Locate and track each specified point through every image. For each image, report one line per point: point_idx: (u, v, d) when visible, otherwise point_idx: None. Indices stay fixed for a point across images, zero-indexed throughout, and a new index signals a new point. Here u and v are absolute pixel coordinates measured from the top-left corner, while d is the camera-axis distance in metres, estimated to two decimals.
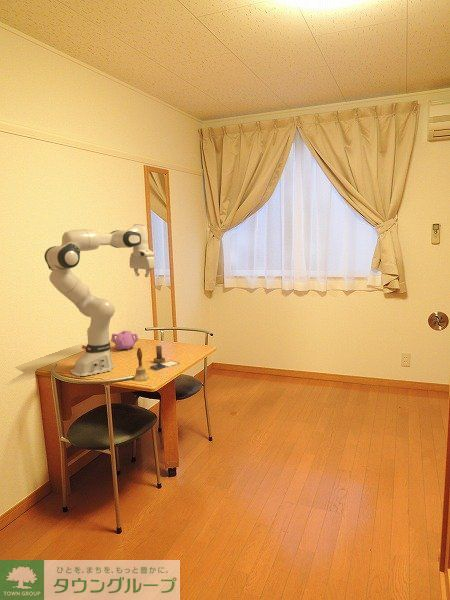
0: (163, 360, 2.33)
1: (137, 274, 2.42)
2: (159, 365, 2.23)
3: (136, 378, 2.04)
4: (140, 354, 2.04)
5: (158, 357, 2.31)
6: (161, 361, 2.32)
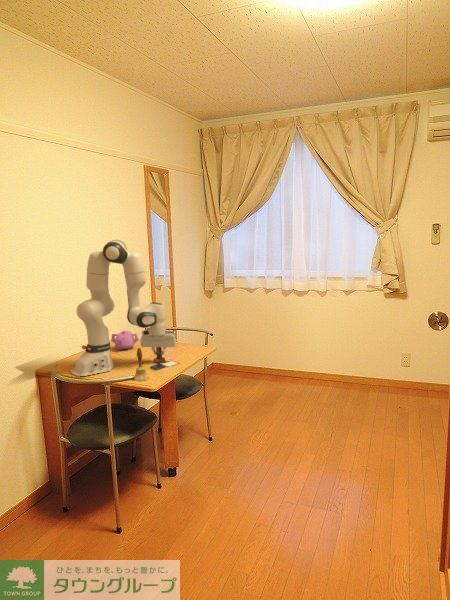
0: (163, 360, 2.33)
1: None
2: (159, 365, 2.23)
3: (136, 378, 2.04)
4: (140, 354, 2.04)
5: (158, 357, 2.31)
6: (161, 361, 2.32)
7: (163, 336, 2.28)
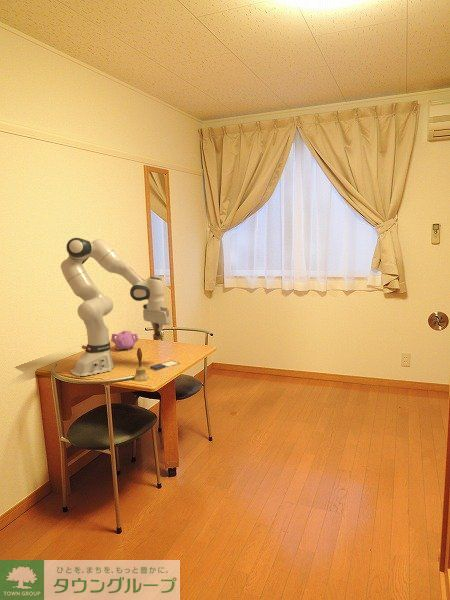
0: (160, 337, 2.27)
1: None
2: (159, 365, 2.23)
3: (136, 378, 2.04)
4: (140, 354, 2.04)
5: (155, 333, 2.27)
6: (157, 338, 2.27)
7: (158, 312, 2.23)
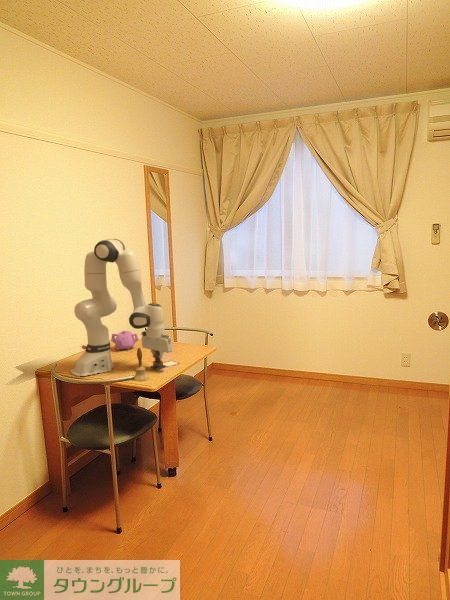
0: (160, 364, 2.21)
1: None
2: None
3: (136, 378, 2.04)
4: (140, 354, 2.04)
5: (155, 360, 2.21)
6: (158, 365, 2.21)
7: (158, 340, 2.17)
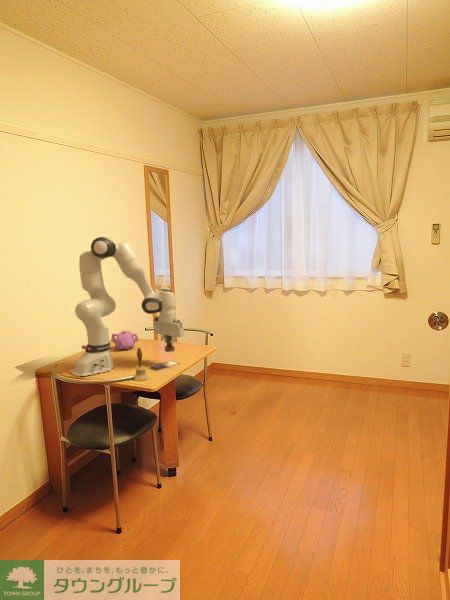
0: (172, 349, 2.26)
1: None
2: (159, 365, 2.23)
3: (136, 378, 2.04)
4: (140, 354, 2.04)
5: (167, 345, 2.26)
6: (169, 349, 2.26)
7: (170, 324, 2.22)
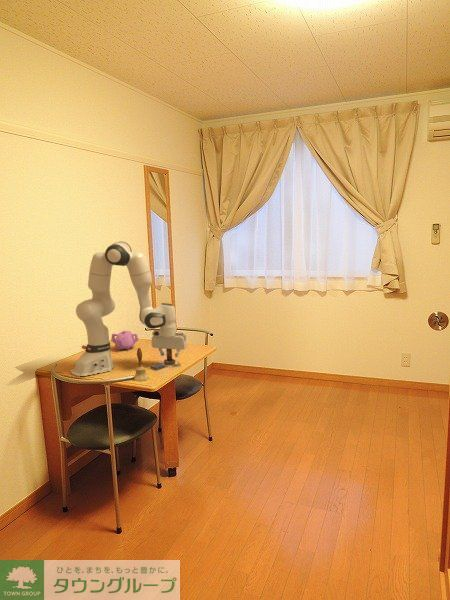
0: (173, 362, 2.28)
1: None
2: (159, 365, 2.23)
3: (136, 378, 2.04)
4: (140, 354, 2.04)
5: (168, 358, 2.27)
6: (171, 363, 2.27)
7: (173, 338, 2.24)
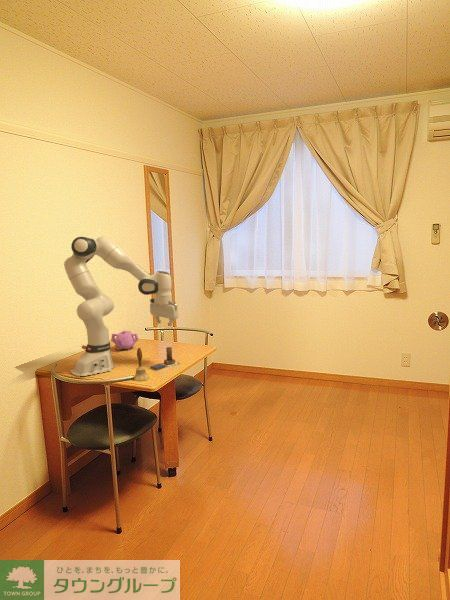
0: (173, 362, 2.28)
1: None
2: (159, 365, 2.23)
3: (136, 378, 2.04)
4: (140, 354, 2.04)
5: (168, 358, 2.27)
6: (171, 363, 2.27)
7: (165, 306, 2.24)
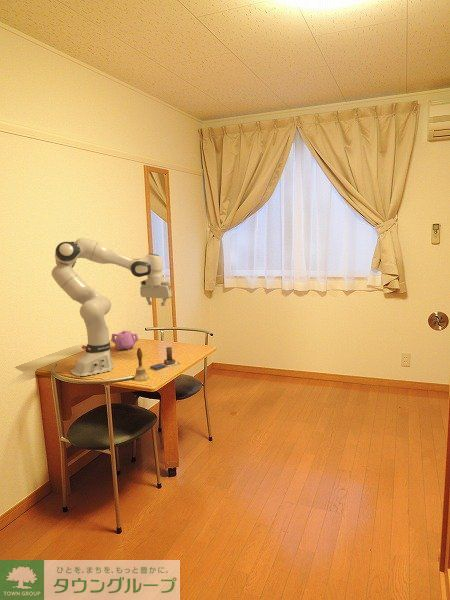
0: (173, 362, 2.28)
1: None
2: (159, 365, 2.23)
3: (136, 378, 2.04)
4: (140, 354, 2.04)
5: (168, 358, 2.27)
6: (171, 363, 2.27)
7: (158, 287, 2.34)
